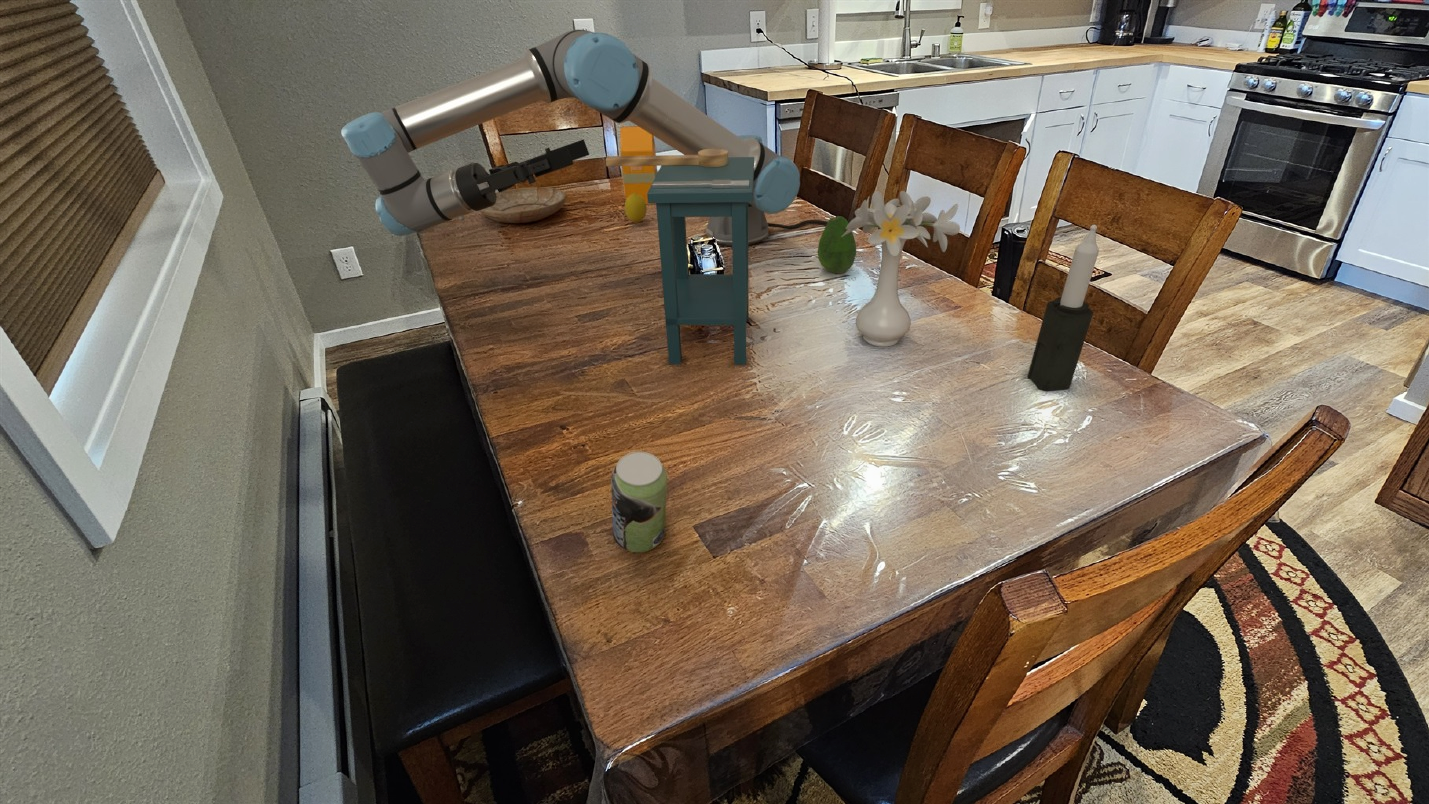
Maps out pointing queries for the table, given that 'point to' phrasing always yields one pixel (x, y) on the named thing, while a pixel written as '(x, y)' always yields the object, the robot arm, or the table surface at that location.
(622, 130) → the orange juice
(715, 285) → the stand
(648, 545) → the beverage can
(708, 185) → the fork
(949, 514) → the table surface
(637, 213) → the lemon
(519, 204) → the ceramic bowl
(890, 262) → the flower vase
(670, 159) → the wooden spoon
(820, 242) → the avocado
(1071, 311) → the candle
